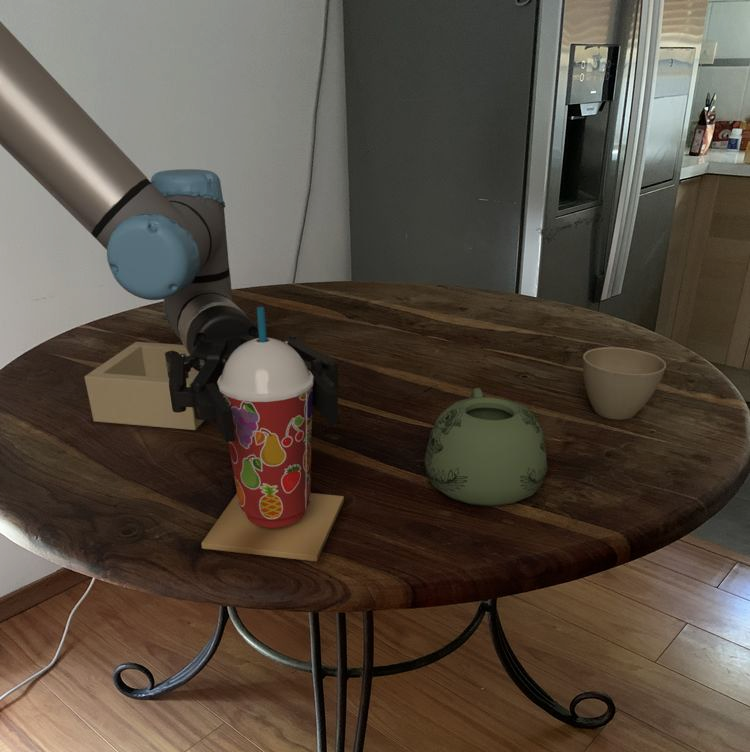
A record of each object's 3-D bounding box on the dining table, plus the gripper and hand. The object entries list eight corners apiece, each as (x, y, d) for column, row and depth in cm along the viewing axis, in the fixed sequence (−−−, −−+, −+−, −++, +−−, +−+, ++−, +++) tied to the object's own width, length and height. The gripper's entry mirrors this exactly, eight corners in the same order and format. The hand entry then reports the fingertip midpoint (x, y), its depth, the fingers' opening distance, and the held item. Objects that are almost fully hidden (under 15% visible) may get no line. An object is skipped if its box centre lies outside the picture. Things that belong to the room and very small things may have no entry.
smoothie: (331, 498, 73) (324, 298, 63) (300, 543, 67) (287, 326, 56) (254, 486, 76) (236, 291, 65) (217, 528, 69) (190, 317, 58)
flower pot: (603, 432, 90) (613, 377, 86) (560, 402, 98) (568, 351, 95) (671, 422, 93) (683, 368, 89) (624, 393, 101) (634, 343, 97)
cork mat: (201, 548, 68) (201, 543, 68) (242, 490, 77) (241, 485, 77) (317, 561, 66) (316, 556, 66) (344, 501, 75) (343, 496, 75)
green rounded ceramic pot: (557, 514, 73) (569, 435, 69) (428, 515, 73) (432, 436, 69) (524, 443, 87) (532, 374, 83) (416, 445, 87) (418, 375, 82)
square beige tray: (93, 421, 92) (83, 376, 89) (142, 382, 104) (135, 341, 101) (195, 430, 90) (189, 384, 87) (233, 389, 102) (229, 347, 99)
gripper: (314, 359, 85) (397, 436, 67) (124, 385, 78) (160, 480, 60) (312, 293, 81) (398, 357, 63) (112, 315, 74) (145, 394, 56)
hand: (282, 417), depth 61 cm, fingers closed on smoothie, 8 cm apart
